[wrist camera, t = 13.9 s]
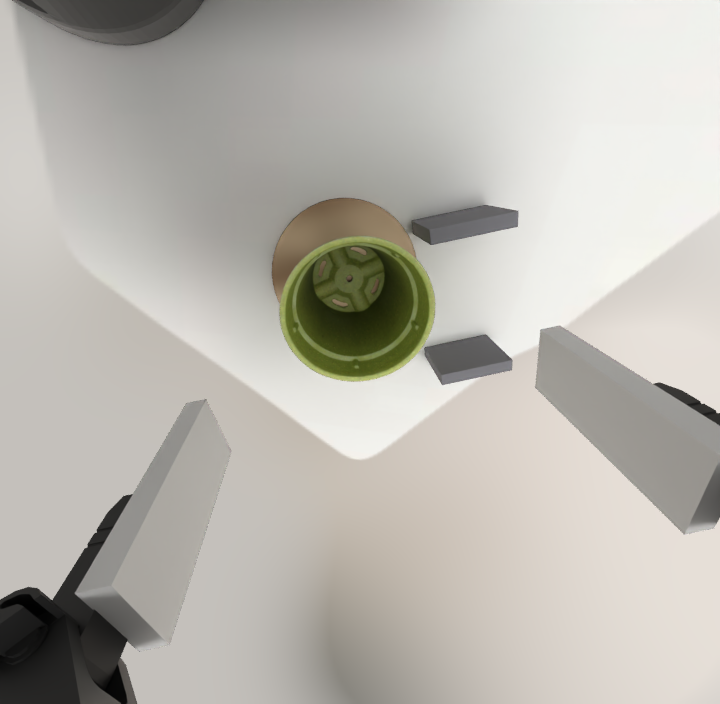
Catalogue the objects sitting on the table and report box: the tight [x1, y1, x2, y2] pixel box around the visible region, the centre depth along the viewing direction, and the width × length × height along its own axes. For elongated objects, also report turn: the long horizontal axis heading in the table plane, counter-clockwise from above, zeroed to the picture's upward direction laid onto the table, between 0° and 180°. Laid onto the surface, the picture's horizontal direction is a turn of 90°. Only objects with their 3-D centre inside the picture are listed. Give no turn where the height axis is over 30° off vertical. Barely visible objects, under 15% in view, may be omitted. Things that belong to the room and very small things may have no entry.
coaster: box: [272, 198, 416, 307], centre depth 28 cm, size 12×12×1 cm
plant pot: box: [280, 236, 435, 382], centre depth 24 cm, size 9×9×9 cm
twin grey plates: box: [412, 205, 518, 385], centre depth 27 cm, size 13×6×5 cm, turn 11°
